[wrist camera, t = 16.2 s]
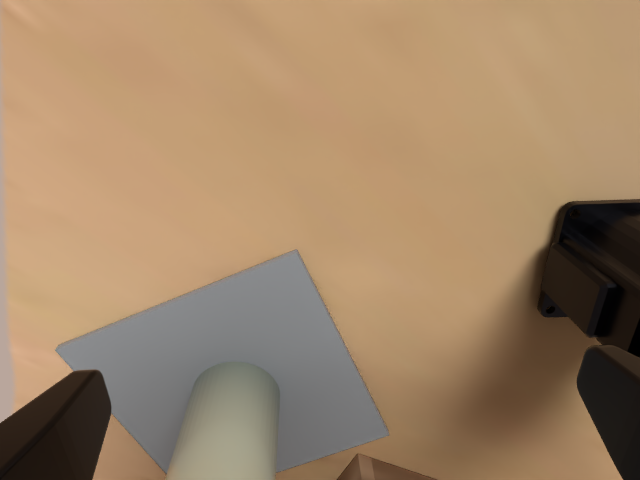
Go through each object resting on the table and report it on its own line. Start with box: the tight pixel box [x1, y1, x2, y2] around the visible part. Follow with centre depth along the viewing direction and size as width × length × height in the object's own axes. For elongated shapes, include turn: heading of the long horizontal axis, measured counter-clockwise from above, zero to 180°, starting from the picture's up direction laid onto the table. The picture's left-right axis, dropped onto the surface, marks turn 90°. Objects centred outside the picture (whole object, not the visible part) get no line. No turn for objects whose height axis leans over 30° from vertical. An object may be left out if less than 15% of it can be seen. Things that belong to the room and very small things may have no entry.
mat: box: [55, 249, 389, 474], centre depth 25 cm, size 14×14×1 cm
